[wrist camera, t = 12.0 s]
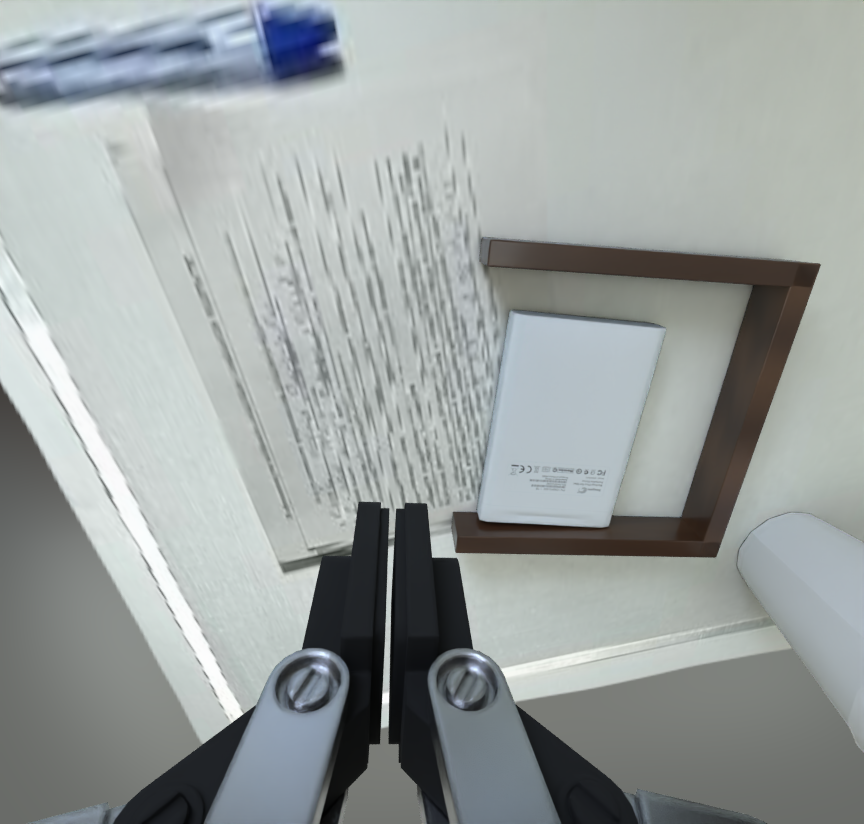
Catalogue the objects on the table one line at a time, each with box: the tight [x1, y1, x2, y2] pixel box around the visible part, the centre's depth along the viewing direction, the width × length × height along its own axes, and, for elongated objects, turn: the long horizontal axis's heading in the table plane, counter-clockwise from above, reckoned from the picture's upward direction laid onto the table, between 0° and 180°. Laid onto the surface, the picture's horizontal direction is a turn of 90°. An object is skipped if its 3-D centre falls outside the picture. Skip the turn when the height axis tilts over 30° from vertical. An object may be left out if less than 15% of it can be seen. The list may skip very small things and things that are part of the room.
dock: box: [451, 237, 821, 557], centre depth 27 cm, size 17×16×2 cm
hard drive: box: [476, 310, 666, 528], centre depth 27 cm, size 2×8×12 cm
